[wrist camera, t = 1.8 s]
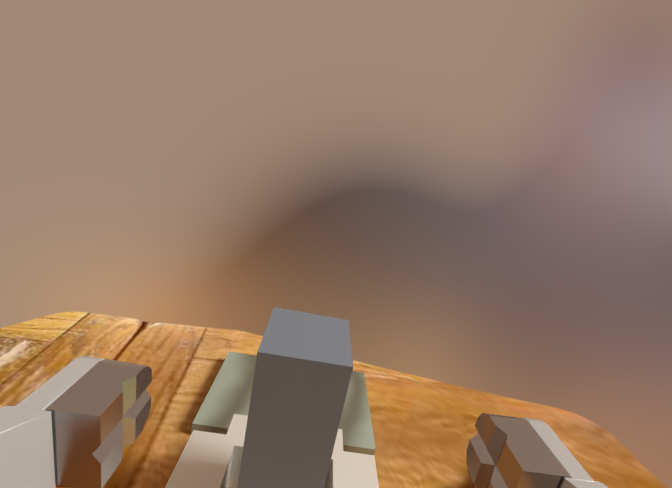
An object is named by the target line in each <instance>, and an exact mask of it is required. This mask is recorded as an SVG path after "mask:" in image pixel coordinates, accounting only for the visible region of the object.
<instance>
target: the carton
mask: <svg viewBox="0 0 672 488" xmlns="http://www.w3.org/2000/svg"><path fill="white" fill-rule="evenodd" d="M247 419H248V416H246V415H239V414H234V415H233V418H232V421H231V424H230V426H229V429H228V432H227V434H226V435H225V434H218V433H211V432H204V431H197V430H193V432H192V434H191V436H190V438H189V440H188V442H187V444H186V446H185V448H184V450H183V452H182V454H181V456H180V458H179V460H178V462H177V464H176V466H175V468H174V470H173V472H172V474H171V476H170V478H169V480H168V482H167V484H166V486H165V488H237V486H238V479H239V472H240V466H241V459H242V452H243V446H244V439H245V432H246V426H247ZM324 488H379V485H378V478H377V472H376V465H375V458H374V455H367V454H360V453H353V452H346V451H343V434H342V429H338V432H337V436H336V440H335V445H334V449H333V453H332V457H331V461H330V465H329V469H328V474H327V478H326V482H325V486H324Z"/></svg>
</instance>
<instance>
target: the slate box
mask: <svg viewBox="0 0 672 488" xmlns="http://www.w3.org/2000/svg"><path fill="white" fill-rule="evenodd" d="M352 370H353V360H352V351H351V342H350V332H349V324H348V320H345V319H339V318H334V317H328V316H322V315H316V314H310V313H303V312H298V311H292V310H286V309H280V308H274V309H273V312H272V315H271V317H270V320H269V322H268V325H267V328H266V331H265V334H264V336H263V339H262V341H261V344H260V347H259V349H258V352H257V359H256V366H255V372H254V379H253V386H252V392H251V399H250V406H249V412H248V419H247V426H246V432H245V439H244V446H243V452H242V459H241V466H240V472H239V479H238V486H237V488H324V486H325V482H326V478H327V474H328V469H329V465H330V461H331V457H332V453H333V449H334V445H335V440H336V436H337V432H338V428H339V424H340V420H341V416H342V411H343V407H344V403H345V399H346V395H347V391H348V387H349V382H350V378H351V374H352Z"/></svg>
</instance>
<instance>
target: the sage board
mask: <svg viewBox="0 0 672 488" xmlns="http://www.w3.org/2000/svg"><path fill="white" fill-rule="evenodd" d="M256 359H257V356H254V355H247V354H241V353H235V352H229V353H228V355H227V357H226V359H225V361H224V363H223V365H222V367H221V368H220V370H219V372H218V374H217V376H216V378H215V380H214V382H213V384H212V386H211V388H210V390H209V392H208V394H207V396H206V397H205V399H204V401H203V403H202V405H201V407H200V409H199V411H198V413H197V415H196V417H195V419H194V421H193V423H192V429H191V434H192V432H193V430H197V431H204V432H211V433H218V434H225V435H226V434H227V432H228V429H229V426H230V424H231V421H232V418H233V415H234V414H239V415H246V416H248V412H249V406H250V399H251V392H252V386H253V379H254V372H255V366H256ZM338 429H342V434H343V451H346V452H353V453H360V454H367V455H374V454H375V450H376V448H375V442H374V435H373V429H372V422H371V416H370V409H369V403H368V396H367V390H366V383H365V377H364V373H362V372H355V371H352V374H351V378H350V382H349V387H348V391H347V395H346V399H345V403H344V407H343V411H342V416H341V420H340V424H339V428H338Z"/></svg>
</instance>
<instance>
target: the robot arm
mask: <svg viewBox="0 0 672 488" xmlns="http://www.w3.org/2000/svg"><path fill="white" fill-rule="evenodd" d="M151 381H152V372H151V368H150V367H149V366H145V365H139V364H133V363H127V362H121V361H115V360H108V359H100V358H94V357H88V356H82V357H78V358H76V359H75V360H73V361H72V362H71V363H69V364H68V365H67V366H66V367H64V368H63V369H62V370H61V371H59V372H58V373H57V374H56V375H54V376H53V377H52V378H50V379H49V380H48V381H47V382H45V383H44V384H43V385H42V386H40V387H39V388H38V389H37V390H35V391H34V392H33V393H31V394H30V395H29V396H28V397H26V398H25V399H24V400H23V401H21V402H20V403H19V404H17V405H16V406H15V407H14V406H4V407H2V408H0V488H56V486H57V487H69V488H103V487H104V485H105V484H106V482H107V481H108V480H109V478H110V477H111V475H112V474H113V472H114V471H115V469H116V468H117V467H118V465H119V464H120V462H121V461H122V449H123V448H125V447H126V446H128V445H130V444H131V443H133V442H135V440H136V439H137V437H138V436H139V434H140V433H141V431H142V430H143V427H144V425H145V423H146V420H147V418H148V415H149V410H150V406H151V396H150V395H149V394H148V392H147V391H146V388H147V386H148V385H149V384H150V383H151ZM475 427H476V429H477V431H478V434H477V435H476V436H474V437H473V438H472V439H470V441H469V445H468V448H467V467H468V471H469V474H470V477H471V479H472V482H473V484H474V485H475V486H476V487H477V488H608V487H607V486H605V485H604V484H602V483H601V482H595V481H593V479H592V478H591V477H590V476H589V474H588V473H587V472H586V471H585V470H584V468H583V467H582V466H581V465H580V463H579V462H578V461H577V460H576V459H575V457H574V456H573V455H572V454H571V452H570V451H569V450H568V449H567V448H566V446H565V445H564V444H563V443H562V441H561V440H560V439H559V438H558V436H557V435H556V434H555V433H554V432H553V430H552V429H551V428H550V427H549V425H548V424H546V423H545V422H543V421H542V420H538V419H529V418H516V417H509V416H501V415H494V414H486V413H482V414H481V415H480V416H479V417H478V419H477V422H476V424H475Z"/></svg>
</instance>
